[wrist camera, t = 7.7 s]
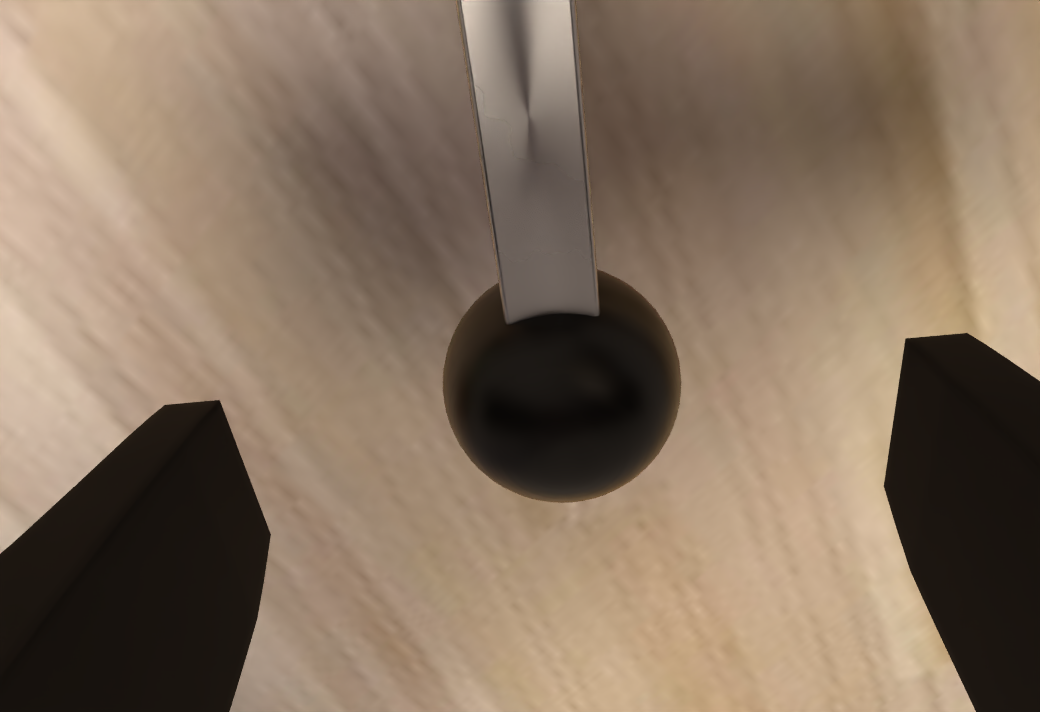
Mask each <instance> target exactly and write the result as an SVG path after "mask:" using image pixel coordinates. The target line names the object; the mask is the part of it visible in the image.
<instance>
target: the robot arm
mask: <svg viewBox="0 0 1040 712" xmlns="http://www.w3.org/2000/svg"><path fill="white" fill-rule="evenodd" d="M884 488H885V491H886V495H887V498H888V501H889V505H890V508H891V511H892V515H893V518H894V521H895V525H896V528H897V531H898V534H899V537H900V540H901V543H902V546H903V550H904V553H905V556H906V559H907V562H908V565H909V568H910V571H911V573H912V575H913V578H914V580H915V582H916V584H917V587H918V589H919V591H920V593H921V595H922V598H923V600H924V602H925V604H926V606H927V608H928V610H929V613H930V615H931V617H932V619H933V621H934V623H935V626H936V628H937V630H938V632H939V634H940V636H941V638H942V641H943V643H944V645H945V647H946V649H947V651H948V653H949V655H950V658H951V660H952V662H953V664H954V666H955V668H956V670H957V672H958V674H959V677H960V679H961V681H962V683H963V685H964V687H965V689H966V691H967V693H968V696H969V698H970V700H971V702H972V704H973V706H974V708H975V710H976V712H1040V381H1039V380H1037V379H1036V378H1034V377H1033V376H1031V375H1030V374H1029V373H1027V372H1026V371H1024V370H1023V369H1021V368H1020V367H1018V366H1017V365H1015V364H1014V363H1012V362H1011V361H1010V360H1008V359H1007V358H1005V357H1004V356H1002V355H1001V354H999V353H998V352H996V351H995V350H993V349H992V348H990V347H989V346H987V345H986V344H984V343H982V342H981V341H979V340H978V339H976V338H974V337H973V336H971V335H970V334H968V333H963V334H952V335H940V336H929V337H918V338H907V339H905V346H904V353H903V360H902V366H901V373H900V380H899V387H898V394H897V401H896V407H895V414H894V421H893V428H892V435H891V441H890V448H889V455H888V462H887V469H886V476H885V482H884ZM270 536H271V534H270V531H269V529H268V526H267V523H266V521H265V518H264V515H263V513H262V510H261V508H260V505H259V502H258V500H257V497H256V494H255V492H254V489H253V487H252V484H251V481H250V479H249V476H248V473H247V471H246V468H245V466H244V463H243V460H242V458H241V455H240V453H239V450H238V447H237V445H236V442H235V439H234V437H233V434H232V432H231V429H230V426H229V424H228V421H227V418H226V416H225V413H224V411H223V408H222V405H221V403H220V400H215V401H204V402H193V403H182V404H171V405H164V406H163V407H162V408H161V409H160V410H158V411H157V412H156V413H155V414H153V415H152V416H151V417H150V418H149V419H147V420H146V421H145V422H144V423H143V424H142V425H141V426H139V427H138V428H137V429H136V430H135V431H134V432H133V433H132V434H131V435H129V436H128V437H127V438H126V439H125V440H124V441H123V442H122V443H121V444H120V445H119V446H117V447H116V448H115V449H114V450H113V451H112V452H111V453H110V454H109V455H108V456H107V457H106V458H105V459H104V460H102V461H101V462H100V463H99V464H98V465H97V466H96V467H95V468H94V469H93V470H92V471H91V472H90V473H89V474H87V475H86V476H85V477H84V478H83V479H82V480H81V481H80V482H79V483H78V484H77V485H76V486H75V487H73V488H72V489H71V490H70V491H69V492H68V493H67V494H66V495H65V496H64V497H63V498H62V499H60V500H59V501H58V502H57V503H56V504H55V505H54V506H53V507H52V508H51V509H50V510H48V511H47V512H46V513H45V514H44V515H43V516H42V517H41V518H40V519H39V520H38V521H37V522H35V523H34V524H33V525H32V526H31V527H30V528H29V529H28V530H27V531H26V532H25V533H23V534H22V535H21V536H20V537H19V538H18V539H17V540H16V541H15V542H14V543H12V544H11V545H10V546H9V547H8V548H7V549H5V550H4V551H3V552H2V553H1V554H0V712H229V711H230V708H231V705H232V702H233V698H234V695H235V692H236V689H237V685H238V682H239V679H240V675H241V672H242V669H243V665H244V662H245V659H246V655H247V652H248V649H249V645H250V642H251V639H252V635H253V632H254V628H255V625H256V621H257V617H258V611H259V606H260V600H261V594H262V589H263V583H264V577H265V570H266V563H267V557H268V550H269V543H270Z"/></svg>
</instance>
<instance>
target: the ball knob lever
mask: <svg viewBox="0 0 1040 712" xmlns="http://www.w3.org/2000/svg"><path fill="white" fill-rule="evenodd" d="M456 7H457V13H458V20H459V26H460V33H461V39H462V46H463V52H464V59H465V65H466V72H467V79H468V85H469V92H470V98H471V105H472V111H473V118H474V124H475V131H476V137H477V144H478V150H479V157H480V163H481V170H482V176H483V183H484V189H485V196H486V202H487V209H488V215H489V222H490V228H491V235H492V242H493V248H494V255H495V261H496V268H497V274H498V281H499V283H497V284H496V285H494V286H493V287H492V288H490V289H489V290H487V291H486V292H485V293H484V294H483V295H482V296H481V297H479V298H478V299H477V300H476V301H475V302H474V304H473V305H472V306H471V307H470V309H469V310H468V311H467V312H466V314H465V315H464V316H463V318H462V319H461V321H460V323H459V324H458V326H457V328H456V330H455V332H454V334H453V336H452V339H451V342H450V344H449V347H448V351H447V355H446V360H445V365H444V370H443V395H444V403H445V408H446V413H447V416H448V419H449V423H450V425H451V428H452V430H453V432H454V434H455V436H456V438H457V440H458V442H459V444H460V446H461V447H462V448H463V450H464V451H465V453H466V454H467V456H468V457H469V458H470V460H471V461H472V462H473V463H474V464H475V465H476V466H477V467H478V468H479V469H480V470H481V471H482V472H483V473H485V474H486V475H487V476H488V477H489V478H491V479H492V480H493V481H494V482H496V483H498V484H499V485H501V486H502V487H504V488H506V489H508V490H510V491H512V492H515V493H517V494H519V495H522V496H525V497H528V498H531V499H535V500H540V501H546V502H558V503H565V502H578V501H584V500H589V499H593V498H597V497H600V496H603V495H605V494H608V493H610V492H612V491H614V490H616V489H618V488H620V487H621V486H623V485H625V484H627V483H628V482H630V481H631V480H633V479H634V478H635V477H637V476H638V475H639V474H640V473H641V472H642V471H643V470H644V469H645V468H646V467H647V466H648V465H649V464H650V463H651V462H652V461H653V460H654V459H655V457H656V456H657V455H658V454H659V452H660V450H661V449H662V447H663V445H664V444H665V442H666V440H667V439H668V437H669V435H670V433H671V430H672V428H673V426H674V423H675V420H676V417H677V413H678V408H679V404H680V395H681V374H680V364H679V358H678V355H677V351H676V348H675V345H674V342H673V339H672V337H671V334H670V332H669V330H668V328H667V326H666V325H665V323H664V321H663V320H662V318H661V317H660V315H659V314H658V312H657V311H656V309H655V308H654V307H653V306H652V305H651V304H650V303H649V302H648V301H647V300H646V299H645V298H644V297H643V296H642V295H641V294H640V293H639V292H638V291H636V290H635V289H634V288H633V287H631V286H630V285H628V284H627V283H625V282H623V281H622V280H620V279H618V278H616V277H614V276H612V275H610V274H607V273H605V272H603V271H600V270H597V265H596V252H595V239H594V226H593V214H592V201H591V188H590V175H589V163H588V150H587V137H586V124H585V111H584V99H583V86H582V73H581V60H580V48H579V35H578V22H577V9H576V0H456Z"/></svg>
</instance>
